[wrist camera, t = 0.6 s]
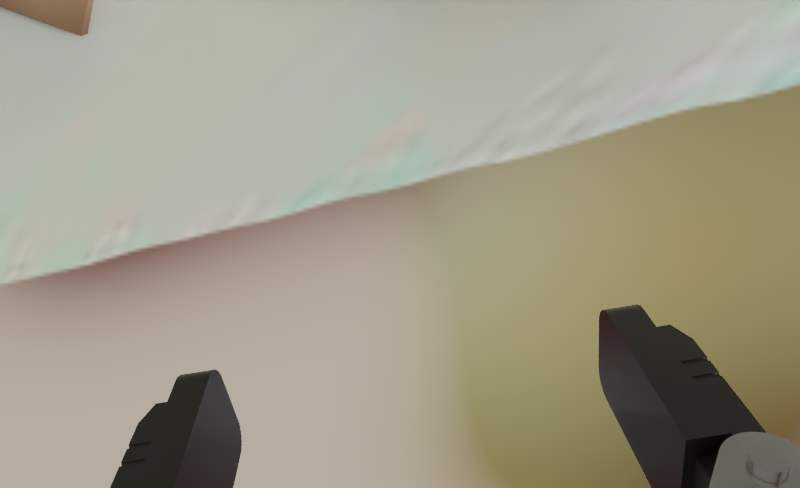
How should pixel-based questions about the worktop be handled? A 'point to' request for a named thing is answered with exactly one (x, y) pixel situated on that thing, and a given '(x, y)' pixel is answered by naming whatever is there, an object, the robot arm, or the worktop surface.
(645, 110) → the worktop surface
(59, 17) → the board
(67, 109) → the worktop surface
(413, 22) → the worktop surface
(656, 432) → the robot arm
